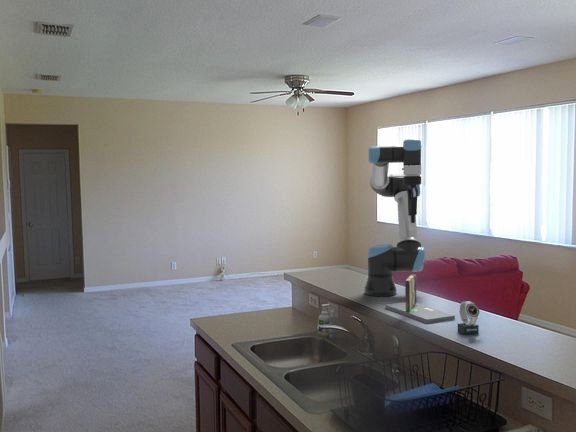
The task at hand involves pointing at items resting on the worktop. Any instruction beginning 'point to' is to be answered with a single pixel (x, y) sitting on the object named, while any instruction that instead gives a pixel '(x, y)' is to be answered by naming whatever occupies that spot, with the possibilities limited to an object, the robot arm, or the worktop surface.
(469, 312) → the watch
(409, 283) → the beige upright panel
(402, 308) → the grey rectangular base plate
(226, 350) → the worktop surface
